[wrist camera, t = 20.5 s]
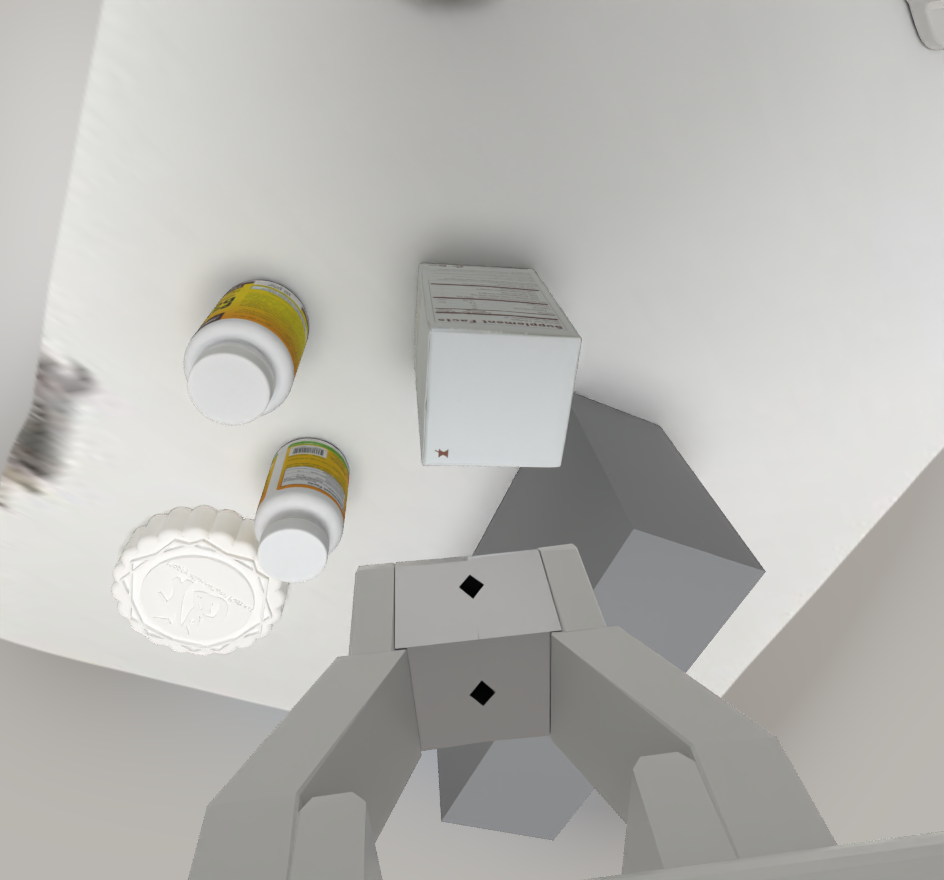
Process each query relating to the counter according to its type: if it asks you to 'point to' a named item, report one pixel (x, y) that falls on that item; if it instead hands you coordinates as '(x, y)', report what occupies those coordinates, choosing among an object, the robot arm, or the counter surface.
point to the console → (603, 592)
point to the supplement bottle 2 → (301, 510)
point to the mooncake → (197, 582)
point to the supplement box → (492, 367)
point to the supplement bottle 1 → (246, 353)
